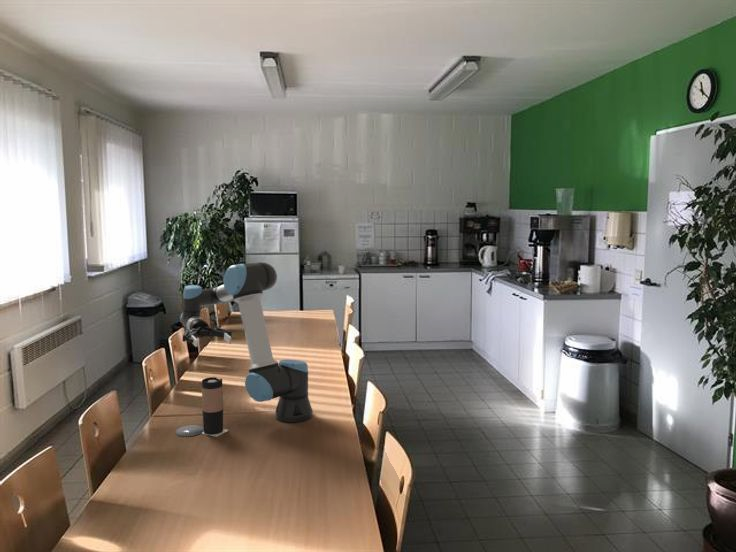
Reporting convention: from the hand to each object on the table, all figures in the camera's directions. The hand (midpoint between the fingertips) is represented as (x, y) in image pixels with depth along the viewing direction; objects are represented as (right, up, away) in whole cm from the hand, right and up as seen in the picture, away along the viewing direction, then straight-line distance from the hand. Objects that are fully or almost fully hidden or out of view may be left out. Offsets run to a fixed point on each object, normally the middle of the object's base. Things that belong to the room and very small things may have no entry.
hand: (213, 342), depth 235 cm
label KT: (+3, -33, -11) cm, 35 cm away
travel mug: (+3, -33, -11) cm, 35 cm away
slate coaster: (-6, -33, -11) cm, 35 cm away
